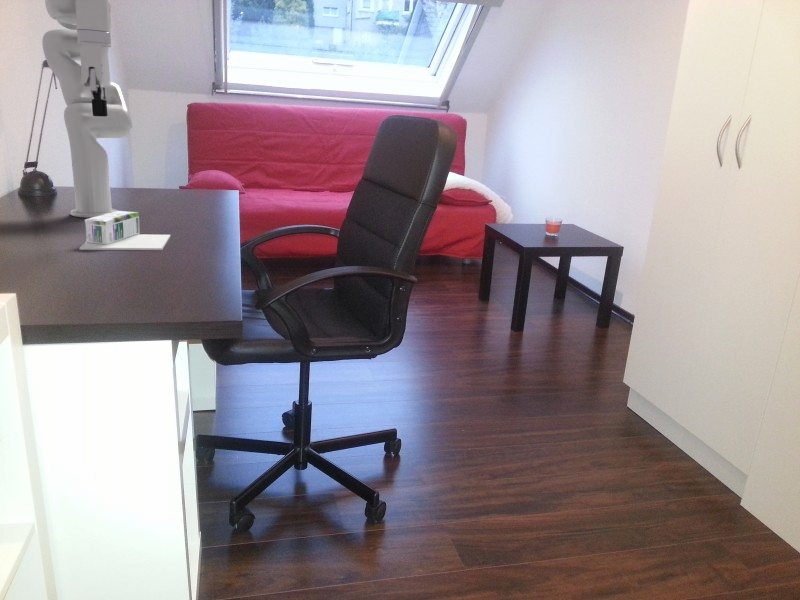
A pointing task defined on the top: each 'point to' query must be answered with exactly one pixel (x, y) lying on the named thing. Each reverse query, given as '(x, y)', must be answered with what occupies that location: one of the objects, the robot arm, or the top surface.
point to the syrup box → (111, 227)
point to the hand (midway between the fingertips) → (100, 116)
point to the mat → (131, 243)
